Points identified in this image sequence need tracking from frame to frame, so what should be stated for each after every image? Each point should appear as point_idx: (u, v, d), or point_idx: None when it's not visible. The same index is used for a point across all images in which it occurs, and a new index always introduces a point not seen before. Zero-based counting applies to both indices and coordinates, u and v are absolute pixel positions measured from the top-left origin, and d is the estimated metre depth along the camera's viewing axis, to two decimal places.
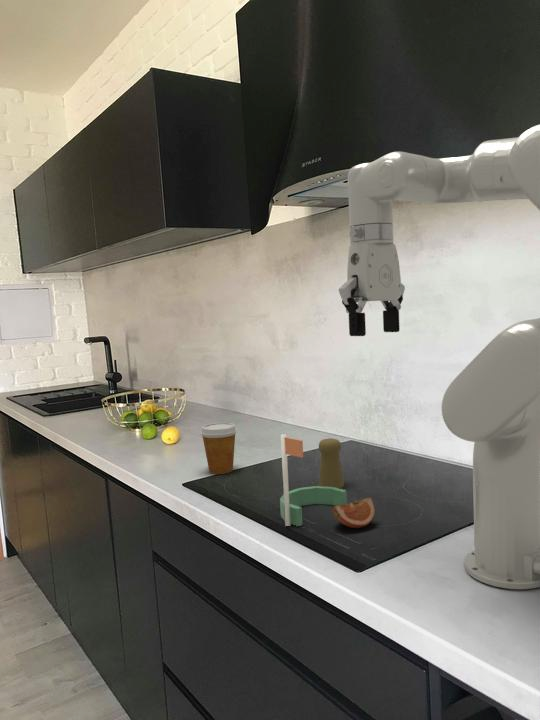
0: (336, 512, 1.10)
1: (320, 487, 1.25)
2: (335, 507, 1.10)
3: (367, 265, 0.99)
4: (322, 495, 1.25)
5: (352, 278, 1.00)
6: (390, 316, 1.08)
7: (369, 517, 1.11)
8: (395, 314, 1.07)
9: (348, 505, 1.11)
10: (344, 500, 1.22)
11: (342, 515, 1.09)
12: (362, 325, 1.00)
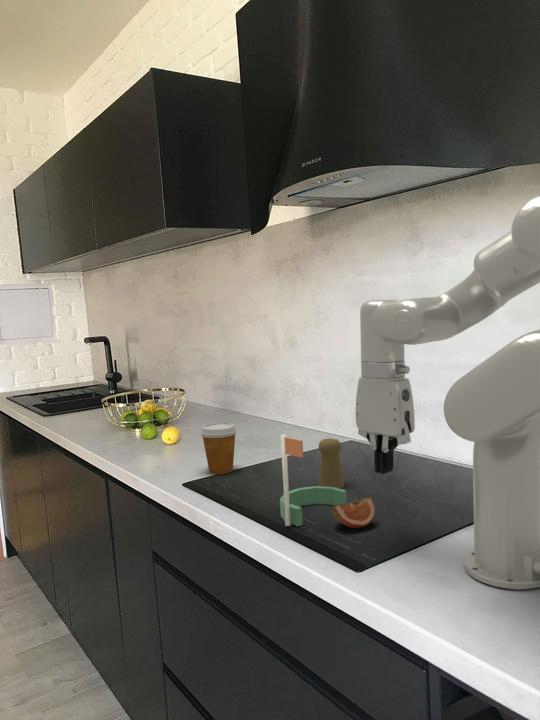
0: (336, 512, 1.10)
1: (320, 487, 1.25)
2: (335, 507, 1.10)
3: (412, 400, 1.02)
4: (322, 495, 1.25)
5: (404, 422, 1.01)
6: None
7: (369, 517, 1.11)
8: None
9: (348, 505, 1.11)
10: (344, 500, 1.22)
11: (342, 515, 1.09)
12: None
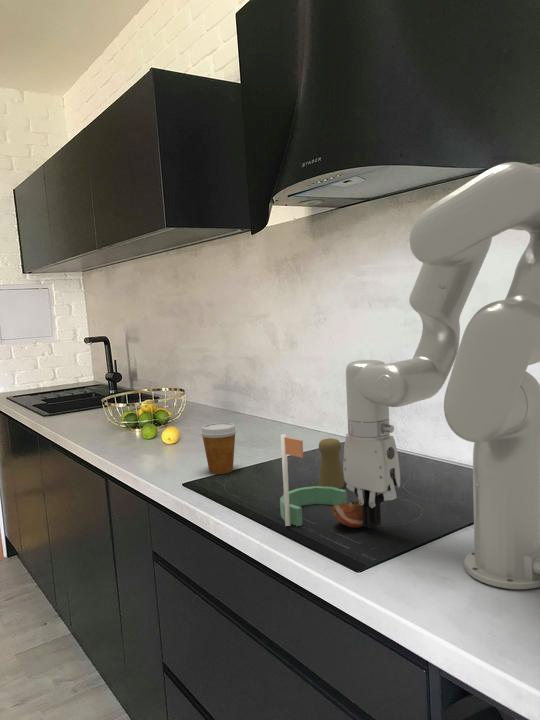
0: (335, 512, 1.10)
1: (320, 487, 1.25)
2: (334, 507, 1.10)
3: (397, 457, 1.06)
4: (322, 495, 1.25)
5: (390, 478, 1.04)
6: None
7: None
8: None
9: (347, 505, 1.11)
10: (344, 500, 1.22)
11: (341, 514, 1.09)
12: None
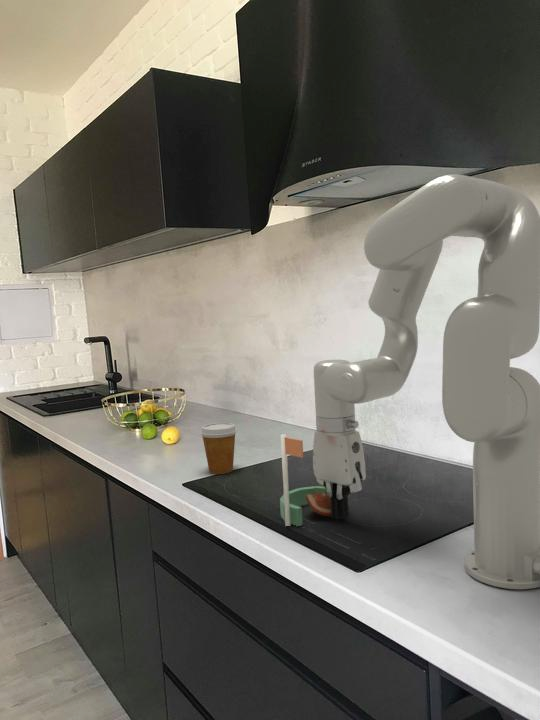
0: (307, 500, 1.17)
1: (320, 487, 1.25)
2: (307, 495, 1.17)
3: None
4: None
5: (355, 471, 1.10)
6: None
7: None
8: None
9: (320, 494, 1.18)
10: None
11: (312, 503, 1.16)
12: None
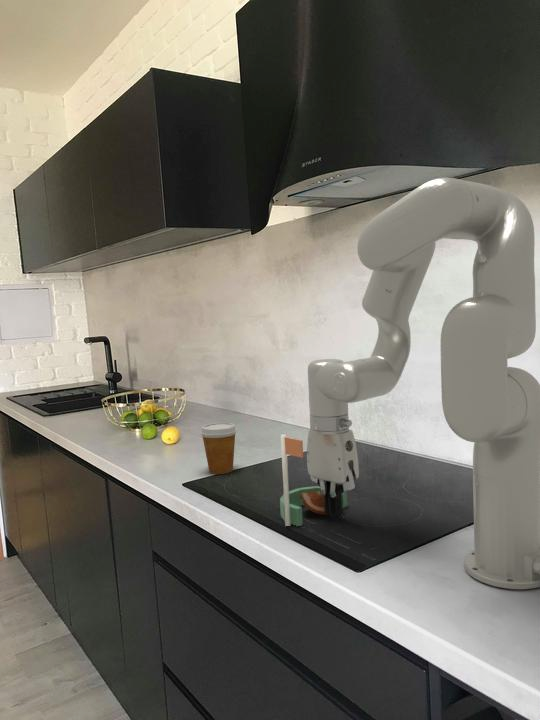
0: (302, 498, 1.18)
1: None
2: (302, 494, 1.19)
3: None
4: None
5: (348, 470, 1.12)
6: None
7: None
8: None
9: (315, 493, 1.19)
10: (344, 500, 1.22)
11: (307, 501, 1.18)
12: None
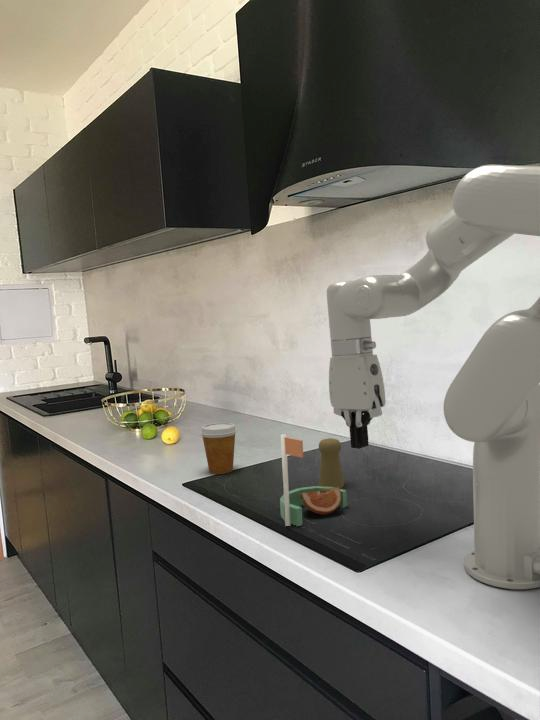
0: (302, 498, 1.18)
1: (320, 487, 1.25)
2: (302, 494, 1.19)
3: (381, 375, 1.07)
4: None
5: (375, 395, 1.05)
6: None
7: (334, 505, 1.18)
8: None
9: (315, 493, 1.19)
10: (344, 500, 1.22)
11: (307, 501, 1.18)
12: None
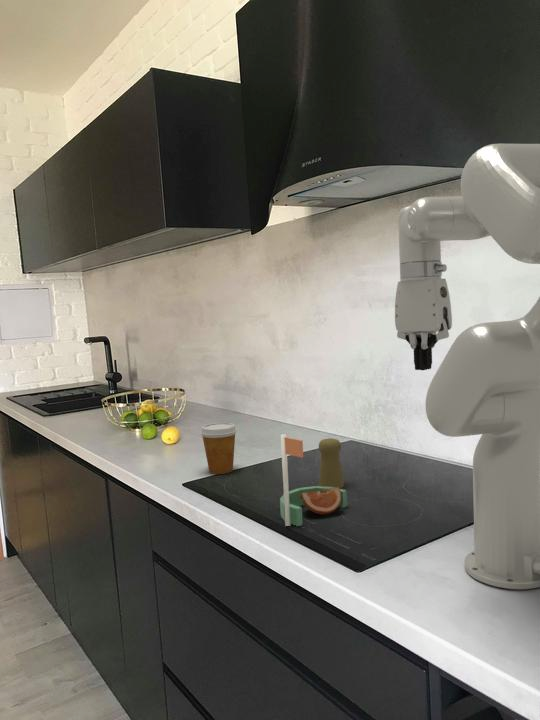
0: (302, 498, 1.18)
1: (320, 487, 1.25)
2: (302, 494, 1.19)
3: None
4: None
5: (442, 317, 1.08)
6: None
7: (334, 505, 1.18)
8: None
9: (315, 493, 1.19)
10: (344, 500, 1.22)
11: (307, 501, 1.18)
12: None
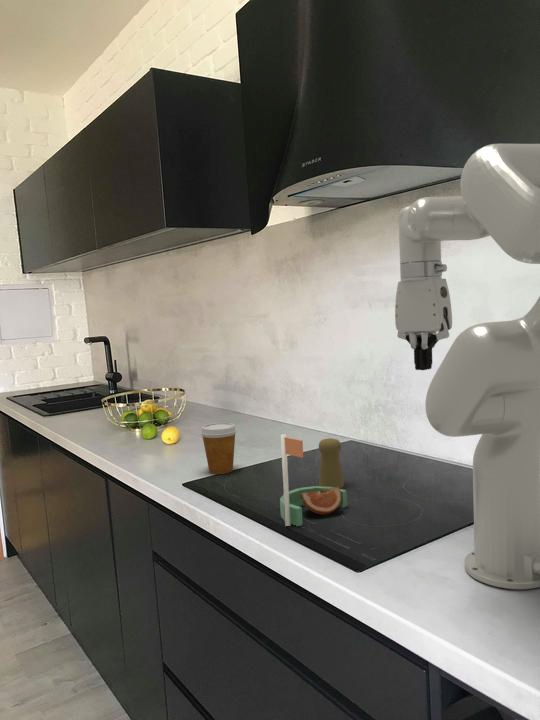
0: (302, 498, 1.18)
1: (320, 487, 1.25)
2: (302, 494, 1.19)
3: (449, 298, 1.09)
4: None
5: (443, 317, 1.08)
6: None
7: (334, 505, 1.18)
8: None
9: (315, 493, 1.19)
10: (344, 500, 1.22)
11: (307, 501, 1.18)
12: None
